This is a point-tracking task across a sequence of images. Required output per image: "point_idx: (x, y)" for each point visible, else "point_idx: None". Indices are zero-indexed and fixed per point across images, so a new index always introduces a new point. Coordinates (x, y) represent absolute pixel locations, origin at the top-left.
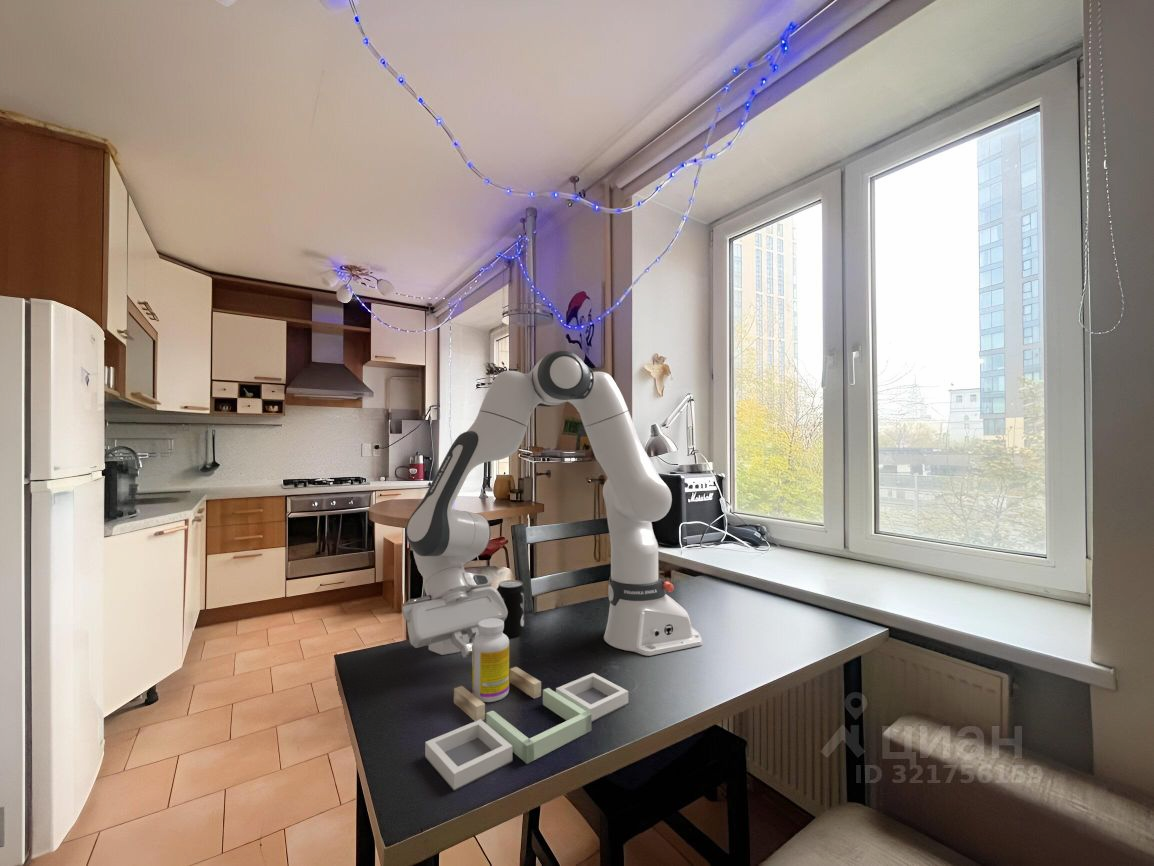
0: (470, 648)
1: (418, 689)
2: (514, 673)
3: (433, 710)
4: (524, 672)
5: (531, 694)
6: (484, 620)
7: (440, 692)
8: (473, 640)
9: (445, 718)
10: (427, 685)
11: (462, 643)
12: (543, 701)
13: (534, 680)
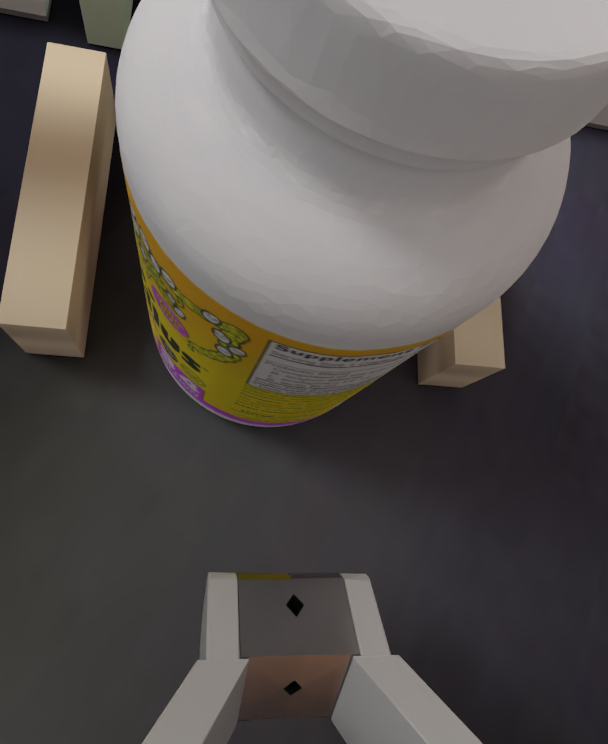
0: (315, 599)
1: (560, 684)
2: (77, 269)
3: (562, 399)
4: (27, 205)
5: (112, 128)
6: (535, 4)
7: (472, 551)
8: (550, 226)
9: (541, 297)
10: (502, 700)
11: (404, 678)
12: (125, 29)
13: (66, 81)
